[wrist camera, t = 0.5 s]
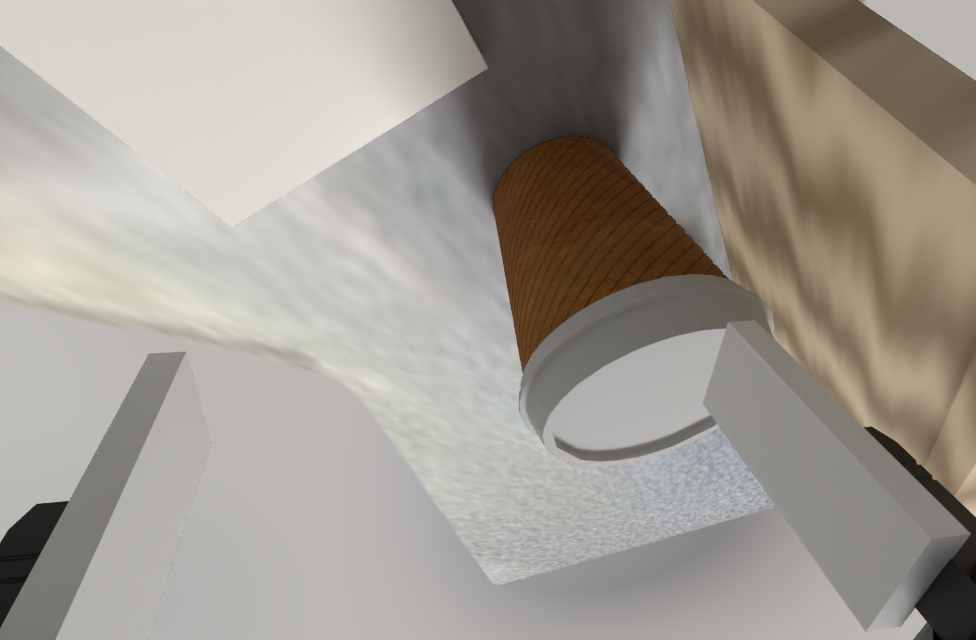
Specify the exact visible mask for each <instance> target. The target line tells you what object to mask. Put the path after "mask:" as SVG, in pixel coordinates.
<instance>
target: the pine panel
mask: <svg viewBox="0 0 976 640" xmlns="http://www.w3.org/2000/svg"><path fill="white" fill-rule="evenodd" d="M670 4H671V8H672V12H673V17H674V21H675V26H676V30H677V35H678V39H679V44H680V48H681V52H682V57H683V61H684V66H685V70H686V75H687V79H688V83H689V88H690V92H691V97H692V101H693V106H694V110H695V114H696V119H697V123H698V128H699V132H700V137H701V141H702V146H703V150H704V154H705V159H706V163H707V168H708V172H709V177H710V181H711V185H712V190H713V194H714V199H715V203H716V208H717V212H718V216H719V221H720V225H721V230H722V234H723V239H724V243H725V248H726V252H727V256H728V261H729V265H730V270H731V274H732V279H733V282H735V283H737V284H739V285H740V286H742V287H743V288H744V289H746V290H748V291H750V292H753V293H755V294H757V295H758V296H759V297H760V298H761V299H762V300H763V301H764V303H765V304H766V305H767V306H768V308H769V309H770V310H771V311H772V314H773V321H774V330H773V334H772V335H773V337H774V339H775V340H776V341H777V342H778V343H779V344H780V345H781V346H782V347H783V348H784V349H785V350H786V351H787V352H788V353H789V354H790V355H791V356H792V357H793V358H794V359H795V360H796V361H797V362H798V363H799V364H800V365H801V366H802V367H803V368H804V369H805V370H806V371H807V372H808V373H809V374H810V375H811V376H812V377H813V378H814V379H815V380H816V381H817V382H818V383H819V384H820V385H821V386H822V387H823V388H824V389H825V390H826V391H827V392H828V393H829V394H830V395H831V396H832V397H833V398H834V399H835V400H836V401H837V402H838V403H839V404H840V405H841V406H842V407H843V408H844V409H845V410H846V411H847V412H848V413H849V414H850V415H852V416H853V417H854V418H855V419H856V420H857V421H858V422H859V423H860V424H861V425H862V426H863V427H871V426H872V427H874V428H875V429H877V430H878V431H880V432H882V433H883V434H885V435H886V436H888V437H890V438H891V439H893V440H895V441H896V442H898V443H899V444H900V445H901V446H902V447H903V448H904V449H905V450H906V451H907V452H908V453H909V454H910V455H911V456H912V457H913V458H914V459H915V460H916V462H917V464H918V465H920V464H921V465H922V466H923V467H924V468H925V469H926V470H927V471H928V472H929V473H930V474H931V475H932V476H933V477H932V478H933V480H937V481H938V482H939V483H941V484H942V485H943V486H944V487H945V488H946V489H947V490H948V491H949V492H950V493H951V494H952V495H953V496H954V497H955V498H956V499H957V500H958V501H959V502H960V503H961V504H963V505H964V506H965V507H966V508H967V509H968V510H969V511H970V512H971V513H972V514H973V515H974V516H975V517H976V81H975V80H973V79H972V78H971V77H969V76H968V75H966V74H965V73H964V72H962V71H961V70H959V69H958V68H956V67H955V66H953V65H952V64H950V63H949V62H947V61H946V60H944V59H943V58H941V57H940V56H939V55H937V54H936V53H934V52H933V51H931V50H930V49H928V48H927V47H925V46H924V45H922V44H921V43H919V42H918V41H916V40H915V39H914V38H912V37H911V36H909V35H908V34H906V33H905V32H903V31H902V30H900V29H899V28H897V27H896V26H894V25H893V24H891V23H890V22H889V21H887V20H886V19H884V18H882V17H881V16H880V15H878V14H877V13H875V12H874V11H872V10H871V9H869V8H868V7H867V6H865V5H864V4H862V3H861V2H859V1H858V0H670Z"/></svg>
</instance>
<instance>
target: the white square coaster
mask: <svg viewBox="0 0 976 640" xmlns="http://www.w3.org/2000/svg"><path fill="white" fill-rule="evenodd" d="M0 46H2V47H3V48H4V49H6V50H7V51H8V52H9V53H11V54H12V55H13V56H14V57H16V58H17V59H18V60H20V61H21V62H22V63H23V64H25V65H26V66H27V67H29V68H30V69H31V70H32V71H34V72H35V73H36V74H37V75H39V76H40V77H41V78H43V79H44V80H45V81H46V82H48V83H49V84H50V85H52V86H53V87H54V88H55V89H57V90H58V91H59V92H60V93H62V94H63V95H64V96H66V97H67V98H68V99H69V100H71V101H72V102H73V103H75V104H76V105H77V106H78V107H80V108H81V109H82V110H83V111H85V112H86V113H87V114H89V115H90V116H91V117H92V118H94V119H95V120H96V121H98V122H99V123H100V124H101V125H103V126H104V127H105V128H106V129H108V130H109V131H110V132H112V133H113V134H114V135H115V136H117V137H118V138H119V139H120V140H122V141H123V142H124V143H126V144H127V145H128V146H129V147H131V148H132V149H133V150H135V151H136V152H137V153H138V154H140V155H141V156H142V157H143V158H145V159H146V160H147V161H149V162H150V163H151V164H152V165H154V166H155V167H156V168H158V169H159V170H160V171H161V172H163V173H164V174H165V175H166V176H168V177H169V178H170V179H172V180H173V181H174V182H175V183H177V184H178V185H179V186H181V187H182V188H183V189H184V190H186V191H187V192H188V193H189V194H191V195H192V196H193V197H195V198H196V199H197V200H198V201H200V202H201V203H202V204H204V205H205V206H206V207H207V208H209V209H210V210H211V211H212V212H214V213H215V214H216V215H218V216H219V217H220V218H221V219H223V220H224V221H225V222H227V223H228V224H229V225H230V226H232V227H233V226H234V225H236V224H237V223H239V222H241V221H242V220H244V219H246V218H247V217H249V216H250V215H252V214H254V213H255V212H257V211H258V210H260V209H262V208H263V207H265V206H267V205H268V204H270V203H271V202H273V201H275V200H276V199H278V198H279V197H281V196H283V195H284V194H286V193H288V192H289V191H291V190H292V189H294V188H296V187H297V186H299V185H300V184H302V183H304V182H305V181H307V180H309V179H310V178H312V177H313V176H315V175H317V174H318V173H320V172H321V171H323V170H325V169H326V168H328V167H330V166H331V165H333V164H334V163H336V162H338V161H339V160H341V159H343V158H344V157H346V156H347V155H349V154H351V153H352V152H354V151H355V150H357V149H359V148H360V147H362V146H364V145H365V144H367V143H368V142H370V141H372V140H373V139H375V138H376V137H378V136H380V135H381V134H383V133H385V132H386V131H388V130H389V129H391V128H393V127H394V126H396V125H397V124H399V123H401V122H402V121H404V120H406V119H407V118H409V117H410V116H412V115H414V114H415V113H417V112H418V111H420V110H422V109H423V108H425V107H427V106H428V105H430V104H431V103H433V102H435V101H436V100H438V99H439V98H441V97H443V96H444V95H446V94H448V93H449V92H451V91H452V90H454V89H456V88H457V87H459V86H460V85H462V84H464V83H465V82H467V81H469V80H470V79H472V78H473V77H475V76H477V75H478V74H480V73H481V72H483V71H485V70H486V69H488V67H487V65H486V63H485V61H484V58H483V56H482V54H481V52H480V51H479V49H478V47H477V45H476V43H475V41H474V39H473V38H472V36H471V34H470V32H469V30H468V28H467V26H466V25H465V23H464V21H463V19H462V17H461V15H460V14H459V12H458V10H457V8H456V6H455V4H454V2H453V1H452V0H0Z"/></svg>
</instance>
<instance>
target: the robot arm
mask: <svg viewBox="0 0 976 640" xmlns="http://www.w3.org/2000/svg"><path fill="white" fill-rule="evenodd" d="M703 405H704V406H705V408H706V409H707V410H708V412H709V413H710V415H711V416H712V417H713V419H714V420H715V422H716V423H717V424H718V426H719V427H720V429H721V430H722V431H723V433H724V434H725V436H726V437H727V438H728V440H729V441H730V443H731V444H732V445H733V447H734V448H735V450H736V451H737V452H738V454H739V455H740V457H741V458H742V459H743V461H744V462H745V464H746V465H747V466H748V468H749V469H750V471H751V472H752V473H753V475H754V476H755V478H756V479H757V480H758V482H759V483H760V485H761V486H762V487H763V489H764V490H765V492H766V493H767V494H768V496H769V497H770V499H771V500H772V501H773V503H774V504H775V506H776V507H777V508H778V510H779V511H780V513H781V514H782V515H783V517H784V518H785V520H786V521H787V522H788V524H789V525H790V526H791V528H792V529H793V531H794V532H795V534H796V535H797V536H798V538H799V539H800V541H801V542H802V543H803V545H804V546H805V548H806V549H807V550H808V552H809V553H810V555H811V556H812V557H813V559H814V560H815V561H816V563H817V564H818V566H819V567H820V568H821V570H822V571H823V572H824V574H825V575H826V577H827V578H828V580H829V581H830V582H831V584H832V585H833V587H834V588H835V590H836V591H837V592H838V594H839V595H840V597H841V598H842V599H843V601H844V602H845V604H846V605H847V606H848V608H849V609H850V610H851V612H852V613H853V615H854V616H855V617H856V619H857V620H858V622H859V623H860V624H861V626H862V627H863V629H864V630H865V631H866V632H868V631H875V630H881V629H888V628H894V627H901V626H902V624H903V623H904V621H905V620H906V619H907V618H908V616H909V615H910V614H911V612H912V611H913V610H914V608H915V607H916V609H917V610H918V611H919V612H920V614H921V615H922V616H923V617H924V618H925V620H926V621H927V623H926V624H925V626H924V627H923V628H922V630H921V631H920V632H919V633H918V634H917V636H916V637H915V638H914V640H976V517H975V516H974V515H973V514H972V513H971V512H970V511H969V510H968V509H967V508H966V507H965V506H964V505H963V504H961V503H960V502H959V501H958V500H957V499H956V498H955V497H954V496H953V495H952V494H951V493H950V492H949V491H948V490H947V489H946V488H945V487H944V486H943V485H942V484H941V483H939V482H938V481H937V480H933V478H932V477H933V476H932V475H931V474H930V473H929V472H928V471H927V470H926V469H925V468H924V467H923V466H922V465H921V464H920V465H918V464H917V462H916V460H915V459H914V458H913V457H912V456H911V455H910V454H909V453H908V452H907V451H906V450H905V449H904V448H903V447H902V446H901V445H900V444H899V443H898V442H896V441H895V440H893V439H891V438H890V437H888V436H886V435H885V434H883V433H882V432H880V431H878V430H877V429H875V428H874V427H872V426H871V427H863V426H862V425H861V424H860V423H859V422H858V421H857V420H856V419H855V418H854V417H853V416H852V415H850V414H849V413H848V412H847V411H846V410H845V409H844V408H843V407H842V406H841V405H840V404H839V403H838V402H837V401H836V400H835V399H834V398H833V397H832V396H831V395H830V394H829V393H828V392H827V391H826V390H825V389H824V388H823V387H822V386H821V385H820V384H819V383H818V382H817V381H816V380H815V379H814V378H813V377H812V376H811V375H810V374H809V373H808V372H807V371H806V370H805V369H804V368H803V367H802V366H801V365H800V364H799V363H798V362H797V361H796V360H795V359H794V358H793V357H792V356H791V355H790V354H789V353H788V352H787V351H786V350H785V349H784V348H783V347H782V346H781V345H780V344H779V343H778V342H777V341H776V340H775V339H774V338H773V337H772V336H771V335H770V334H769V333H768V332H767V331H766V330H765V329H764V328H763V327H762V326H761V325H760V324H759V323H758V322H757V321H756V320H752V321H734V322H728V325H727V328H726V331H725V334H724V337H723V340H722V343H721V347H720V350H719V353H718V356H717V359H716V362H715V365H714V369H713V372H712V375H711V378H710V381H709V384H708V388H707V391H706V394H705V397H704V400H703ZM211 444H212V441H211V437H210V434H209V430H208V427H207V423H206V420H205V416H204V413H203V409H202V405H201V402H200V398H199V395H198V391H197V388H196V384H195V381H194V378H193V374H192V370H191V367H190V363H189V360H188V357H187V353H186V352H173V353H155V354H149V355H148V357H147V358H146V360H145V362H144V364H143V366H142V368H141V369H140V372H139V373H138V375H137V377H136V379H135V381H134V382H133V384H132V386H131V388H130V390H129V392H128V393H127V395H126V397H125V399H124V401H123V403H122V404H121V406H120V408H119V410H118V412H117V414H116V416H115V418H114V419H113V421H112V423H111V425H110V427H109V428H108V431H107V432H106V434H105V436H104V438H103V440H102V441H101V443H100V445H99V447H98V449H97V451H96V453H95V454H94V456H93V458H92V460H91V462H90V464H89V465H88V467H87V469H86V471H85V473H84V475H83V476H82V478H81V480H80V482H79V484H78V486H77V488H76V489H75V491H74V493H73V495H72V497H71V499H70V500H69V501H64V502H53V503H42V504H36V505H35V506H34V507H33V508H32V509H31V510H30V511H28V512H27V513H26V514H25V515H24V516H23V517H22V518H21V519H20V520H19V521H17V522H16V523H15V524H14V525H13V526H12V527H11V528H10V529H9V530H8V531H7V533H6V535H5V536H4V538H3V540H2V541H1V543H0V640H149V637H150V634H151V631H152V628H153V625H154V622H155V618H156V615H157V612H158V609H159V606H160V603H161V600H162V597H163V593H164V590H165V587H166V584H167V581H168V578H169V575H170V571H171V569H172V565H173V562H174V559H175V556H176V553H177V550H178V547H179V543H180V541H181V537H182V534H183V531H184V528H185V524H186V522H187V518H188V516H189V512H190V509H191V506H192V503H193V500H194V497H195V493H196V491H197V487H198V484H199V481H200V478H201V475H202V472H203V469H204V465H205V462H206V459H207V456H208V453H209V450H210V447H211Z"/></svg>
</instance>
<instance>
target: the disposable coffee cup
mask: <svg viewBox="0 0 976 640" xmlns="http://www.w3.org/2000/svg"><path fill="white" fill-rule="evenodd" d="M493 209H494V216H495V220H496V225H497V231H498V236H499V243H500V248H501V254H502V259H503V265H504V271H505V277H506V283H507V288H508V294H509V299H510V305H511V310H512V315H513V321H514V328H515V334H516V339H517V345H518V350H519V356H520V361H521V366H522V372H523V376H522V380H521V390H520V392H519V411H520V416H521V418H522V420H523V422H524V423H525V425H526V427H527V428H528V429H530V430H531V431H532V432H533V433H534V434H536V435H538V436H539V438H540V439H541V441H542V443H543V444H544V446H545V447H546V449H547V450H548V451H549V453H550V454H551V455H553V456H554V457H555V458H557V459H559V460H562V461H564V462H566V463H570V464H575V465H584V466H601V465H612V464H623V463H628V462H632V461H637V460H641V459H645V458H649V457H652V456H656V455H660V454H662V453H665V452H667V451H670V450H672V449H675V448H678V447H680V446H683V445H685V444H687V443H690V442H692V441H694V440H697V439H699V438H701V437H703V436H704V435H706V434H708V433H710V432H712V431H714V430H715V429H717V428H718V427H719V426H718V424H717V423H716V422H715V420H714V419H713V417H712V416H711V415H710V413H709V412H708V410H707V409H706V408H705V406H704V405H703V400H704V397H705V394H706V391H707V388H708V384H709V381H710V378H711V375H712V372H713V369H714V365H715V362H716V359H717V356H718V353H719V350H720V347H721V343H722V340H723V337H724V334H725V331H726V328H727V325H728V322H734V321H752V320H756V321H757V322H758V323H759V324H760V325H761V326H762V327H763V328H764V329H765V330H766V331H767V332H768V333H769V334H770V335H771V336H772V337H773V335H772V334H773V330H774V321H773V314H772V311H771V310H770V309H769V308H768V306H767V305H766V304H765V303H764V301H763V300H762V299H761V298H760V297H759V296H758V295H757V294H755V293H753V292H750V291H748V290H746V289H744V288H743V287H742V286H740V285H739V284H737V283H735V282H733V281H731V280H729V279H728V278H727V277H726V276H725V275H723V272H722V271H721V270H720V269H719V268H718V267H717V266H716V265H715V264H713V261H712V260H711V259H710V258H709V257H708V256H707V255H706V254H705V253H704V254H703V250H702V249H701V248H700V247H699V246H698V245H697V244H696V243H694V241H693V239H692V238H691V237H690V236H689V235H688V234H687V233H686V234H685V232H684V229H683V228H682V227H681V226H680V225H679V224H676V220H675V219H673V218H672V217H671V216H670V215H668V212H667V211H666V210H665V209H664V208H663V207H662V206H660V204H659V203H658V202H657V200H656V199H655V198H652V195H651V194H650V193H649V192H648V191H647V190H645V187H644V186H643V185H642V184H641V183H640V182H638V180H637V179H636V177H635V176H634V175H633V174H631V172H630V171H629V170H628V168H626V167H625V166H624V164H623V163H622V162H621V161H620V160H619V159H618V158H617V157H616V156H615V154H614V153H613V152H612V151H611V150H610V149H609V148H608V147H607V146H605V145H604V144H603V143H601V142H598V141H596V140H593V139H591V138H584V137H576V136H574V137H562V138H558V139H553V140H550V141H547V142H545V143H542V144H539V145H537V146H536V147H534V148H532V149H530V150H529V151H527V152H525V153H524V154H523V155H522V156H520V157H519V158H518V159H517V160H515V161H514V162H513V164H512V165H511V166H510V167H509V168H508V170H507V171H506V172H505V173H504V175H503V176H502V178H501V179H500V181H499V183H498V186H497V188H496V191H495V194H494V203H493ZM773 338H774V337H773Z"/></svg>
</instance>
